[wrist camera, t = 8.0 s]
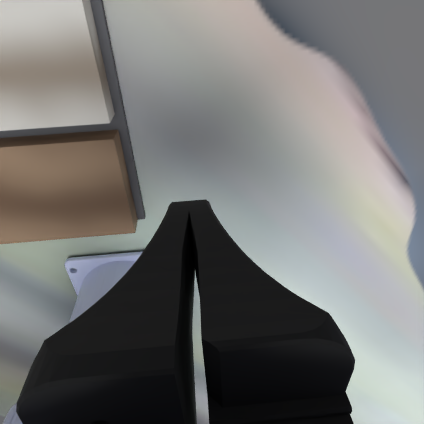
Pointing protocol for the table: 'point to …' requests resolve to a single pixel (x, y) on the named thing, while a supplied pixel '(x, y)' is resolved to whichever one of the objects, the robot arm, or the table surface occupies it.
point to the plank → (51, 66)
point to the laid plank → (64, 187)
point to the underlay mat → (119, 117)
